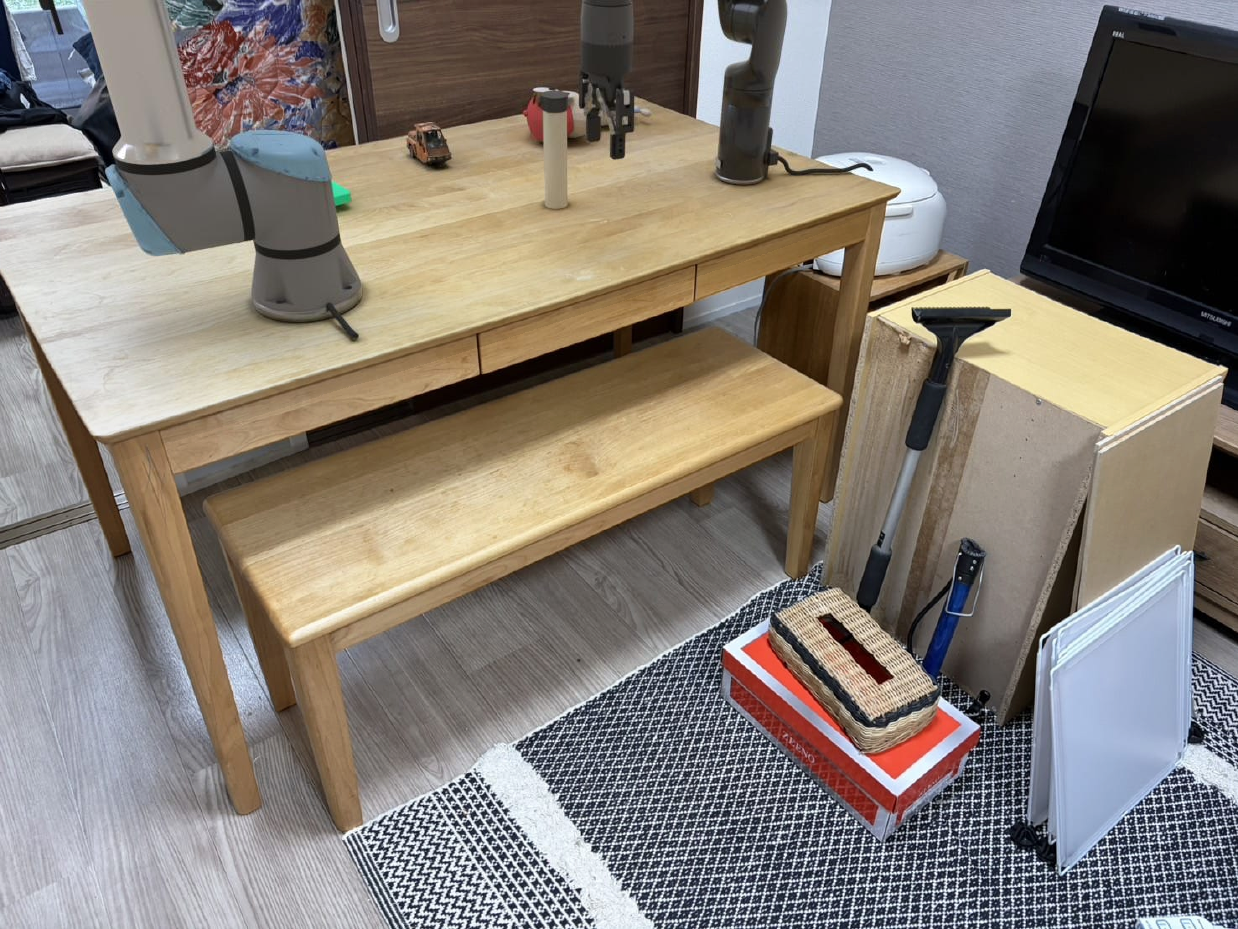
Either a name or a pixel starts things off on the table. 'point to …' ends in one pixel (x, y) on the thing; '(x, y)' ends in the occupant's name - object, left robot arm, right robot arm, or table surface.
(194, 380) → the table surface
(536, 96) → the toy
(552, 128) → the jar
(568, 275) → the table surface
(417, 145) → the toy car
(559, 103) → the lid
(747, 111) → the right robot arm
